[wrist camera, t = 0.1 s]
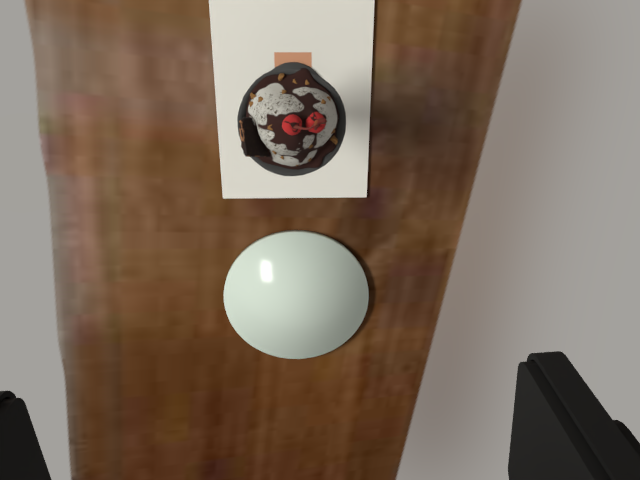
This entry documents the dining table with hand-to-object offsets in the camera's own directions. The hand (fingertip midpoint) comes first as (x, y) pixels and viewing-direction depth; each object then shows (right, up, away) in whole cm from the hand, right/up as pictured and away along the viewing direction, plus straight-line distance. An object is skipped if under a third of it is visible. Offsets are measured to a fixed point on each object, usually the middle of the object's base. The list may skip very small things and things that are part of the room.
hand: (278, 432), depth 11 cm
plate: (-1, -1, +41) cm, 41 cm away
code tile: (-1, +15, +33) cm, 36 cm away
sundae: (-1, +15, +33) cm, 36 cm away
